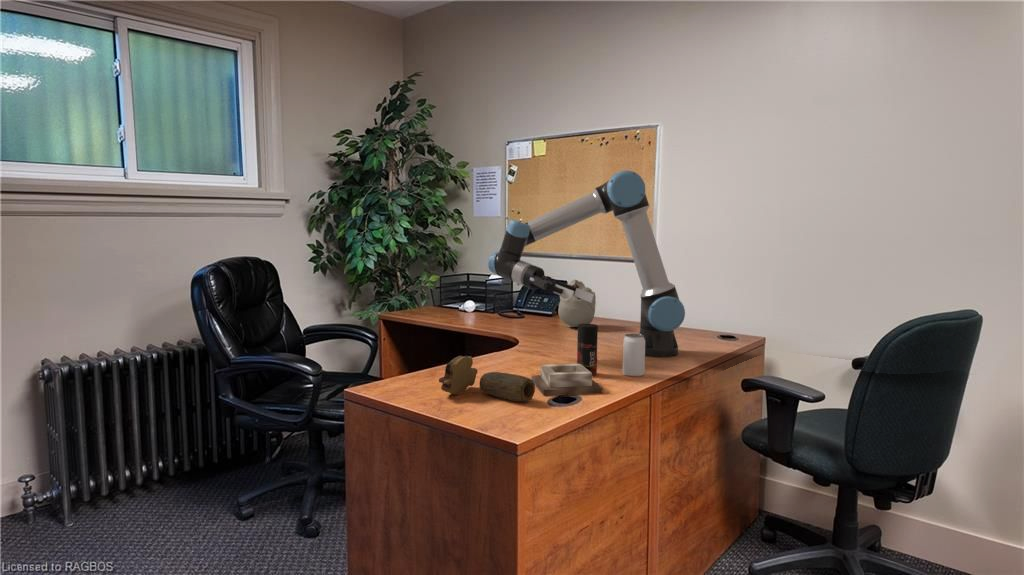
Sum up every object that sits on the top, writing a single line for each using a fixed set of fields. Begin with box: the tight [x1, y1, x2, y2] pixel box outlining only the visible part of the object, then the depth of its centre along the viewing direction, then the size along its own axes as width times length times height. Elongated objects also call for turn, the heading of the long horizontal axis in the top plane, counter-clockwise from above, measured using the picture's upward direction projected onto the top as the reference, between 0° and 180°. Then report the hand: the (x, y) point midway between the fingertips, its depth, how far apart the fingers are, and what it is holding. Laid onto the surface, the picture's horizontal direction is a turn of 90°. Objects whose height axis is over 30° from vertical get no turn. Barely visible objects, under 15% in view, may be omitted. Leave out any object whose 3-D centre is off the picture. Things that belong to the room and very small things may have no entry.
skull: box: [557, 279, 597, 328], centre depth 267 cm, size 20×15×22 cm
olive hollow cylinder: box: [479, 371, 536, 403], centre depth 157 cm, size 15×7×7 cm, turn 54°
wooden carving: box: [438, 355, 478, 396], centre depth 161 cm, size 16×5×10 cm, turn 159°
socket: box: [531, 363, 603, 397], centre depth 168 cm, size 16×16×5 cm
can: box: [622, 333, 646, 377], centre depth 183 cm, size 6×6×12 cm
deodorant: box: [576, 323, 599, 377], centre depth 182 cm, size 6×6×15 cm
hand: (583, 297), depth 187 cm, fingers open, 13 cm apart
